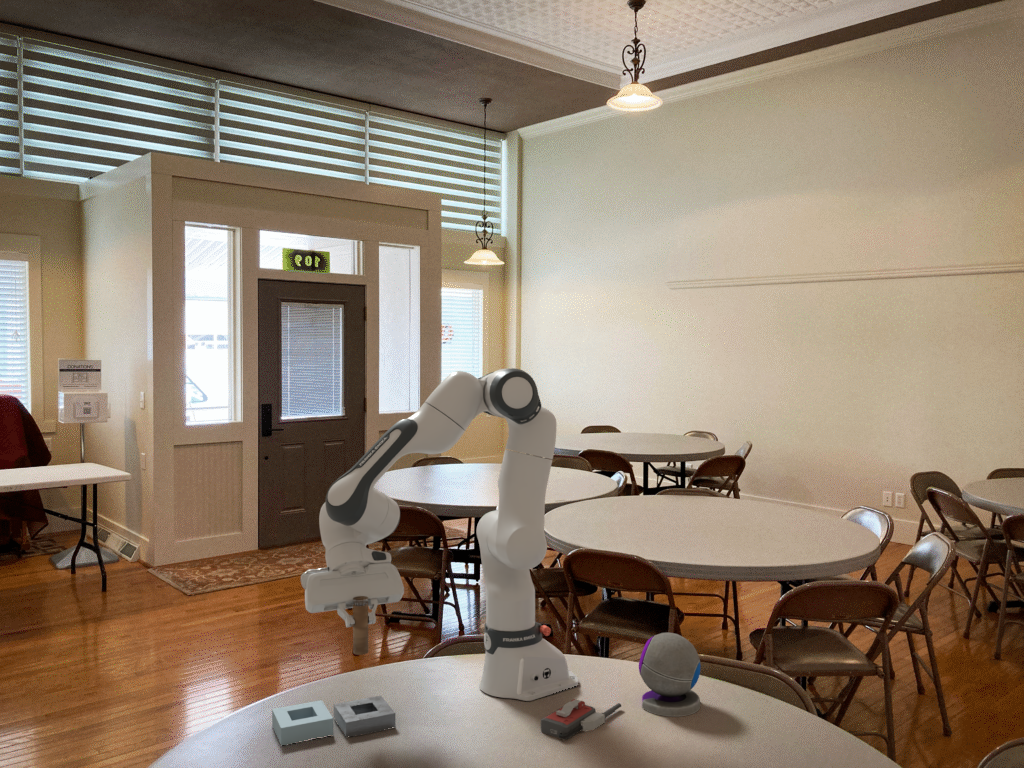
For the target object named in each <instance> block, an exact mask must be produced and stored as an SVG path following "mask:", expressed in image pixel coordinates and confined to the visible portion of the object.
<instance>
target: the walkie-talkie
mask: <svg viewBox="0 0 1024 768" xmlns="http://www.w3.org/2000/svg"><path fill="white" fill-rule="evenodd" d="M619 708H622V704H621V703H619V702H617V703H616V704H615V705H613V706H612V707H610V708H609V709H607V710H605V711H604V712H601V713H600V712H597V711H596V708H595V707H593V706H591V705H587V704H586V702H585V701H583V700H580V699H576V698H573V699H572V700H570V701H568V702H566V703H564V705H563V706H561V707H559V708H558V709H556V710H555V711H552V712H551V713H549V714H548V715H545V716H544V717H543V718H541V719H540V733H541V732H542V733H541V734H544V733H545V734H546V735H548V736H551V737H554V738H557V737H558V739H560V740H563V739H564V740H569V739H570V738H572V737H574V735H576V734H578V733H580V732H582V731H585V732H587V731H586V730H592V731H594V730H593V729H595V728H596V729H598V728H599V727H601V726H602V725H601V724H603V723H606V718H607V717H609V716H611V715H612V714H613V713H615V712H616V711H617V710H618V709H619ZM600 725H601V726H600ZM603 725H604V724H603ZM598 726H599V727H598ZM597 727H598V728H597ZM596 729H595V730H596ZM580 730H581V731H580ZM577 732H578V733H577ZM575 733H576V734H575Z"/></svg>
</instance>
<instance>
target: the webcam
mask: <svg viewBox="0 0 1024 768" xmlns="http://www.w3.org/2000/svg"><path fill="white" fill-rule="evenodd" d="M638 672H639V674H640V677H641V679H642V681H643V683H644V685H646V686H647V687H648V689H649V690H648V691H647V692H645V693H644V694H643V695H642V697H641V708H642V709H643V708H644V709H645V710H644V709H643V710H644V711H646V710H647V711H646V712H648V711H649V712H648V713H650V714H655V715H657V716H663V717H683V716H689V715H692V714H695V713H697V712H698V711H699V710H700V709H701V698H700V696H699V695H698V693H696V692H695V691H694V690H692V689H693V688H694V687H695V686H696V685H697V683H698V681H699V678H700V675H701V660H700V656H699V654H698V651H697V649H696V647H695V646H694V645H693V644H692V643H691V642H690V641H689V640H688V639H687V638H686V637H683V636H682V635H680V634H678V633H674V632H661V633H658V634H655V635H653V636H651V637H650V638H648V639H647V641H646V642H645V645H644V647H643V649H642V652H641V654H640V658H639V660H638Z"/></svg>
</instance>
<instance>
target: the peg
mask: <svg viewBox="0 0 1024 768" xmlns="http://www.w3.org/2000/svg"><path fill="white" fill-rule="evenodd" d="M368 613H369V606H368V597H366V596H357V597H354V598H353V608H352V615H353V616H354V620H355V624H354V626H353V627H352V638H353V641H352V642H353V645H352V651H353V652H352V653H353V654H354V655H356V656H357V655H358V656H361V655H367V654H368V653H369V624H368Z"/></svg>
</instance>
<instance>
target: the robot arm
mask: <svg viewBox="0 0 1024 768" xmlns="http://www.w3.org/2000/svg"><path fill="white" fill-rule="evenodd" d="M537 386H538V385H537V383H536V381H535V380H534V378H533V376H531V375H530V373H528V372H526V371H525V370H522V369H520V368H513V367H512V368H507V367H506V368H499V369H497V370H495V371H492V372H489V373H486V374H484V375H483V376H481V377H478V378H477V377H476V376H475V375H473V374H471V373H469V372H466V371H461V370H459V371H458V370H457V371H453V372H451V373H450V374H449V375H448V376H446V377H445V379H443V380H442V381H441V382H440V383H439V384H438V385H437V386H436V388H434V390H432V392H431V393H430V395H428V396H427V398H426V400H425V401H424V403H423V404H422V405H421V406H420V407H419V408H418V409H417V410H416V411H415V412H414V413H413V414H412V415H410V416H409V417H407V418H404V419H400V420H398V421H396V423H394V424H393V425H392V426H391V427H389V429H387V431H385V433H383V434H382V436H380V437H379V439H378V440H377V441H376V442H375V443H374V444H372V446H371V447H370V448H369V449H368V450H367V451H366V452H365V454H364V455H362V456H361V457H360V459H359V460H358V461H356V463H355V464H354V465H353V466H352V467H351V468H350V469H349V470H347V471H346V472H344V474H342V475H341V476H339V477H338V478H337V479H336V480H335V481H334V482H332V483H331V485H330V486H329V488H328V489H327V491H326V494H325V501H324V503H323V504H322V505H321V507H320V511H319V517H318V520H319V521H318V524H319V533H320V538H321V539H320V540H321V543H322V545H323V547H324V549H325V553H324V557H325V558H324V559H325V562H326V563H325V564H326V567H320V568H316V569H314V568H312V569H307V570H306V571H305V572H303V573H302V574H301V575H300V583H301V587H302V588H303V589H304V604H305V606H304V607H305V610H306V611H307V612H308V613H310V614H315V613H316V614H317V613H324V612H331V611H336V612H337V615H338V616H339V617H340V618H341V619H342V620H343V621H344V622H345V623H344V624H345V628H351V627H352V628H353V626H354V624H355V620H354V616H353V614H351V615H350V614H349V613H348V612H347V611H346V609H353V598H354V597H357V596H366V597H368V610H369V611H370V610H371V612H368V625H373V624H376V621H377V617H376V611H377V608H378V605H384V604H385V605H386V604H394V603H399V602H400V601H401V600H402V597H403V596H404V594H405V587H404V584H403V580H402V577H401V575H400V573H399V570H398V568H397V567H396V565H394V564H393V563H392V555H391V553H390V552H387V551H381V550H375V549H372V548H368V547H367V545H372V544H375V543H377V542H379V541H382V540H383V539H386V538H388V537H389V536H390V535H392V534H393V533H394V532H395V531H396V530H397V527H398V526H399V524H400V520H401V507H400V505H399V504H398V502H397V501H396V500H394V499H392V497H390V496H389V495H387V494H385V493H384V492H382V491H380V490H378V489H377V488H375V485H376V484H377V483H378V482H379V480H380V479H382V477H383V476H384V475H385V474H386V473H387V472H388V470H389V469H391V468H392V467H393V466H394V464H395V463H396V462H397V461H398V460H399V459H401V458H402V457H404V456H407V455H409V454H426V455H438V454H444V453H446V452H448V451H449V450H451V449H452V448H453V447H454V446H455V445H456V444H457V443H458V442H459V440H460V439H462V436H463V435H464V434H465V431H467V429H468V427H469V426H470V425H471V423H472V421H473V420H474V419H476V418H477V416H479V415H480V414H482V413H484V414H487V415H489V416H493V417H497V418H501V419H505V421H506V423H507V427H508V434H507V435H508V436H507V440H506V445H505V449H504V452H503V458H502V461H501V462H502V463H501V464H500V465H501V466H500V471H499V474H498V480H497V488H498V509H495V510H492V511H489V512H486V513H485V514H483V516H482V517H481V518H480V519H479V521H478V523H477V526H476V530H475V531H476V533H475V534H476V538H477V540H478V544H479V545H478V546H479V551H480V559H481V567H482V568H481V569H482V572H483V579H484V584H485V585H484V586H485V587H484V588H485V614H486V616H485V617H486V618H485V621H486V622H485V623H484V628H483V629H484V633H483V634H484V635H483V643H484V650H485V655H484V664H483V671H482V675H481V679H480V683H479V689H480V690H481V691H482V692H483V693H485V694H487V695H488V696H492V697H498V698H502V699H503V698H504V699H515V700H518V701H519V700H520V701H524V702H525V701H526V702H531V701H535V700H537V699H540V698H544V697H546V696H550V695H554V694H556V692H557V693H560V692H563V691H566V690H569V689H568V688H570V689H572V687H573V688H575V687H574V686H576V687H577V685H578V686H579V684H578V683H579V677H578V676H577V675H576V674H575V673H574V672H573V671H571V670H570V669H569V668H568V665H569V664H568V661H567V658H566V656H565V655H564V654H563V652H562V651H561V650H560V649H558V648H557V647H556V646H554V645H553V644H551V643H550V642H549V641H547V640H546V639H545V638H543V635H544V636H545V637H548V636H550V634H552V628H550V627H549V626H547V625H546V624H543V625H542V624H541V623H539V622H537V621H536V589H535V586H534V583H533V579H532V575H531V572H530V570H531V569H533V568H535V567H538V565H540V564H541V563H542V562H543V560H544V559H545V557H546V554H547V550H548V543H547V542H548V541H547V538H546V534H545V519H546V518H545V516H546V515H545V512H546V509H545V508H546V493H547V488H548V482H549V478H550V474H551V469H552V468H551V467H552V465H553V464H552V463H553V460H554V454H555V448H556V440H557V439H556V438H557V418H556V416H555V415H554V414H553V412H551V410H549V409H547V408H545V407H543V406H542V402H541V398H540V396H539V391H538V387H537ZM565 689H566V690H565ZM562 690H563V691H562ZM559 691H560V692H559ZM553 693H554V694H553Z"/></svg>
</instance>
